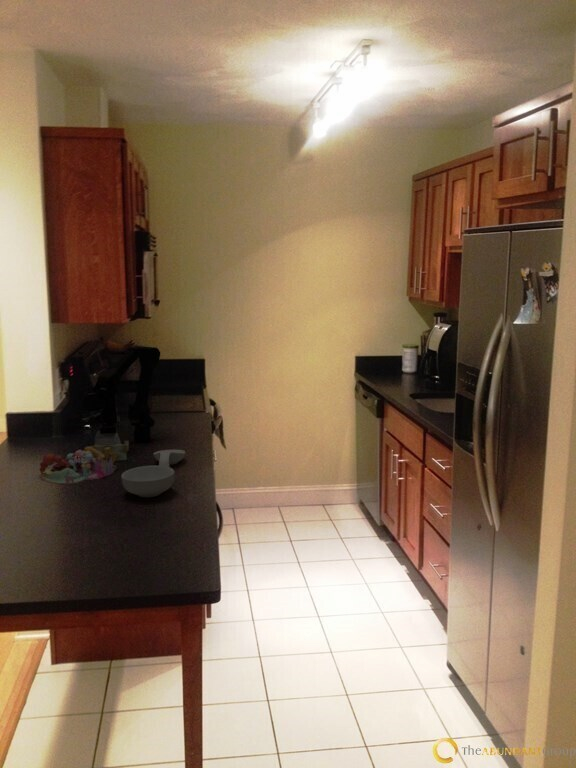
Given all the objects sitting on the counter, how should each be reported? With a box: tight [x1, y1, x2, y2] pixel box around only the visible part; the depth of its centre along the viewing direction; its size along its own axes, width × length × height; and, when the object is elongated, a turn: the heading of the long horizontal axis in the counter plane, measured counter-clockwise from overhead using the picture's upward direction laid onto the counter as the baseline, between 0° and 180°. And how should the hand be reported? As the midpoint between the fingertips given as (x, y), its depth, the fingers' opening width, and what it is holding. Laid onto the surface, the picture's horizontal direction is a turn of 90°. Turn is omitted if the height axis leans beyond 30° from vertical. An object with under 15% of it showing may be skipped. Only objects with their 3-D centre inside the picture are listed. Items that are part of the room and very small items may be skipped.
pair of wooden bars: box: [90, 440, 130, 462], centre depth 269 cm, size 13×18×6 cm
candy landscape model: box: [39, 445, 118, 485], centre depth 247 cm, size 25×24×9 cm
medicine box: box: [94, 429, 122, 446], centre depth 269 cm, size 8×4×9 cm
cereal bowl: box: [121, 465, 176, 498], centre depth 226 cm, size 17×17×7 cm
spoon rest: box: [153, 449, 186, 468], centre depth 253 cm, size 24×12×7 cm, turn 4°
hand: (111, 445), depth 274 cm, fingers closed
